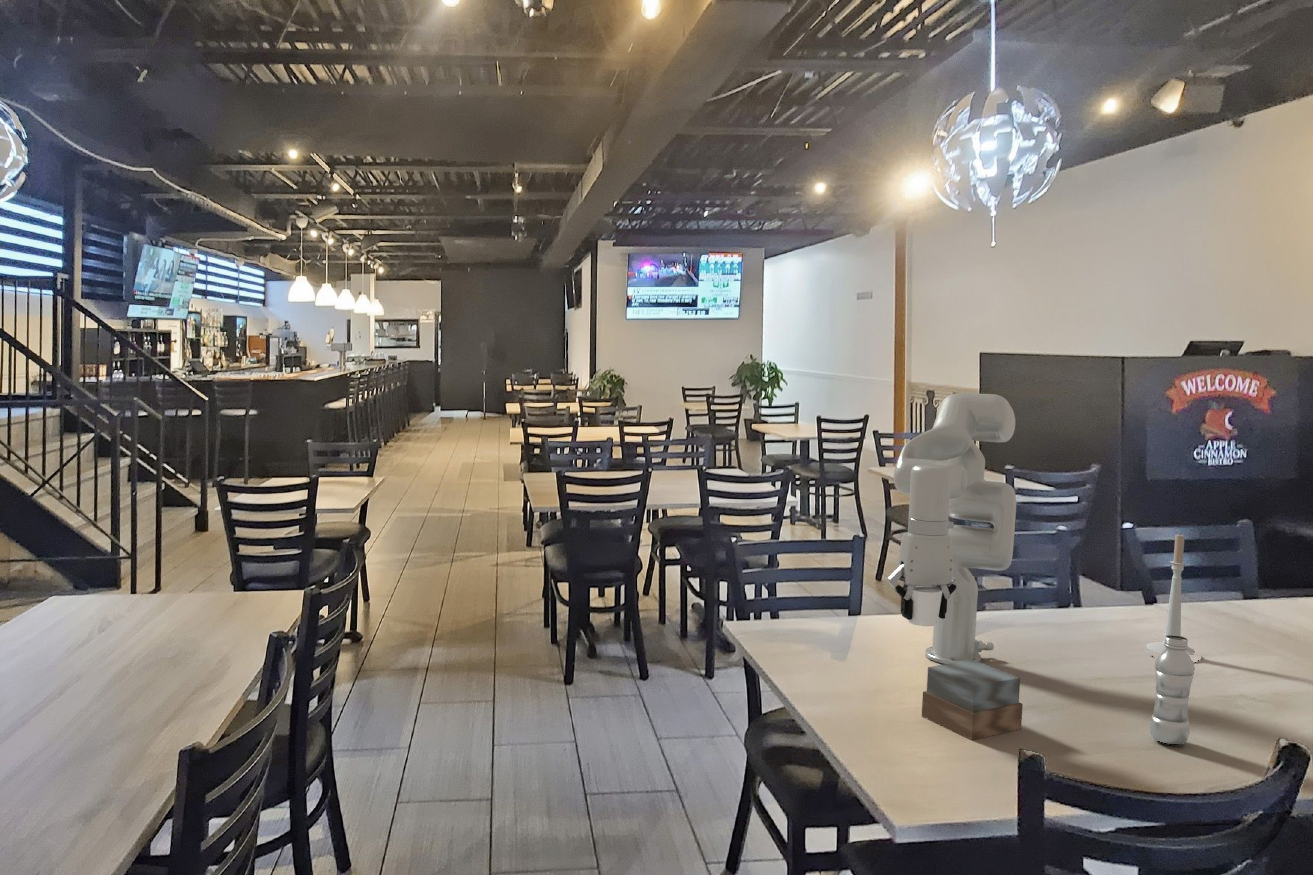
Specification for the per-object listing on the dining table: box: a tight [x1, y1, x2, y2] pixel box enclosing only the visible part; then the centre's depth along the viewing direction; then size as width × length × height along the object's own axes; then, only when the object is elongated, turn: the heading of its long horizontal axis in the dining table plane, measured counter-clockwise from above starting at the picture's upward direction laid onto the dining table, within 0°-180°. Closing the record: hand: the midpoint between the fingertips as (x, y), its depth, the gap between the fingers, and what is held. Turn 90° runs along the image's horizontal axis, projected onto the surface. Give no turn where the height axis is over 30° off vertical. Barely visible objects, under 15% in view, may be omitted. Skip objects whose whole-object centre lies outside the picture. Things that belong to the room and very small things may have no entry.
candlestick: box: [1145, 534, 1196, 655], centre depth 237 cm, size 13×13×30 cm
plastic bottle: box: [1149, 635, 1196, 745], centre depth 181 cm, size 6×7×20 cm
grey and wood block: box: [921, 660, 1024, 741], centre depth 189 cm, size 13×13×10 cm
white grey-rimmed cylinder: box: [907, 586, 943, 627], centre depth 192 cm, size 7×7×7 cm
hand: (923, 616), depth 192 cm, fingers closed on white grey-rimmed cylinder, 6 cm apart
